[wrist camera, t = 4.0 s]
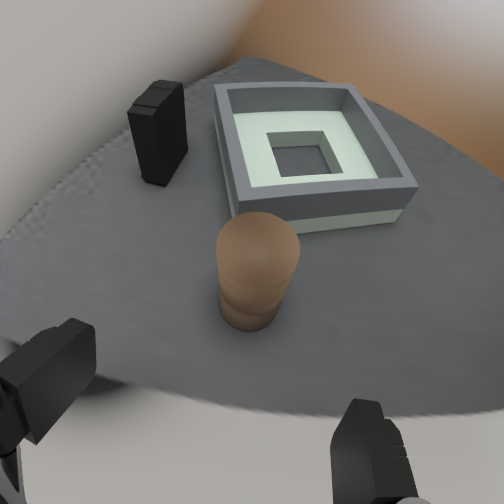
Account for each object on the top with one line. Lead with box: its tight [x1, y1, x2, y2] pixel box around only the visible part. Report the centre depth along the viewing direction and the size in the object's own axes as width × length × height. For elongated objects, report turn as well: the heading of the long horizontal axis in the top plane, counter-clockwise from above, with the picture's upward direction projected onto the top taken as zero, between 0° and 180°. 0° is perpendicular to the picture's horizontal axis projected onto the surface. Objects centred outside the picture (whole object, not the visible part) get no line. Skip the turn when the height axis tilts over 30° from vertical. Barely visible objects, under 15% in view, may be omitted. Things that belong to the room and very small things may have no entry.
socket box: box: [214, 82, 419, 234], centre depth 27 cm, size 14×14×5 cm
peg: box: [216, 212, 300, 332], centre depth 19 cm, size 4×4×8 cm
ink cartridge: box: [127, 80, 188, 185], centre depth 25 cm, size 5×2×8 cm, turn 163°
